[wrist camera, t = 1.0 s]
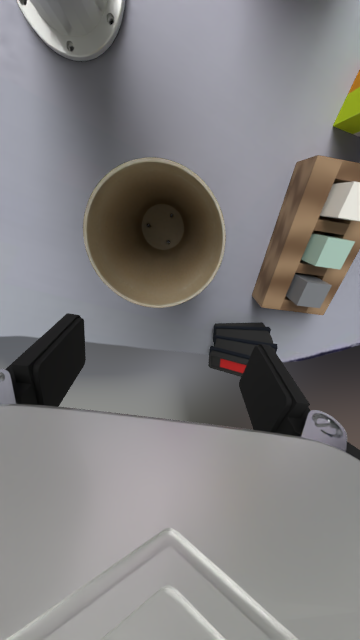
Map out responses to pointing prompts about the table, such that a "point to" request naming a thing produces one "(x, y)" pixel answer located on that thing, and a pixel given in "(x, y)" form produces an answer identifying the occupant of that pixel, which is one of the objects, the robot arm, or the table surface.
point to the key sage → (327, 251)
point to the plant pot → (154, 232)
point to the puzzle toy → (350, 110)
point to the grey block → (308, 290)
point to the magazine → (237, 345)
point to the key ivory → (343, 202)
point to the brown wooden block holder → (306, 233)
